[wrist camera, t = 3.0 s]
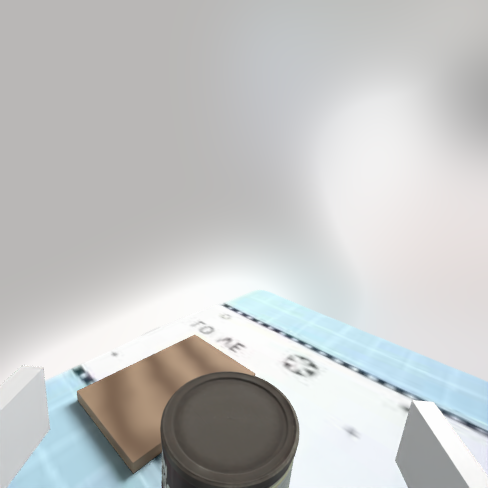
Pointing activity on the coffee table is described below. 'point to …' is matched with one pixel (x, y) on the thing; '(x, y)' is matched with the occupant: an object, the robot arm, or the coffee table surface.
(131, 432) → the walnut board
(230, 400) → the coffee can
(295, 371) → the coffee table surface
